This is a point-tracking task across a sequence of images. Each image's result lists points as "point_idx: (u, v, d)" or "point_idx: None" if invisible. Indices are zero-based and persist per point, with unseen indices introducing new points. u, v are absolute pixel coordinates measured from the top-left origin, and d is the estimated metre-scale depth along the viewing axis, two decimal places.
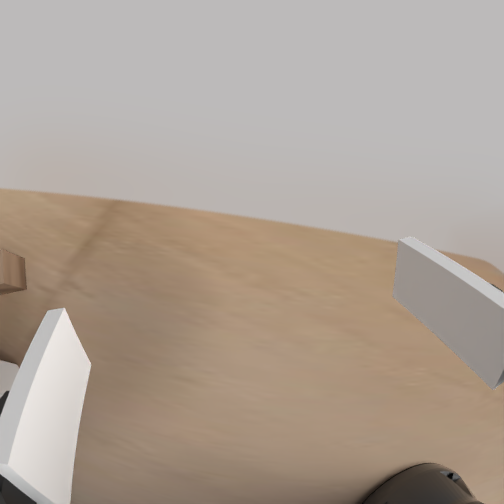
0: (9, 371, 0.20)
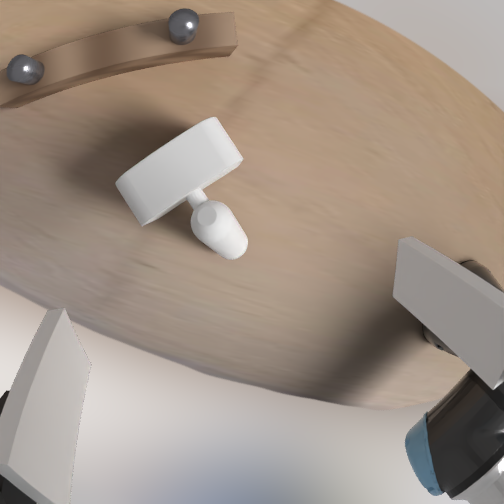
0: None
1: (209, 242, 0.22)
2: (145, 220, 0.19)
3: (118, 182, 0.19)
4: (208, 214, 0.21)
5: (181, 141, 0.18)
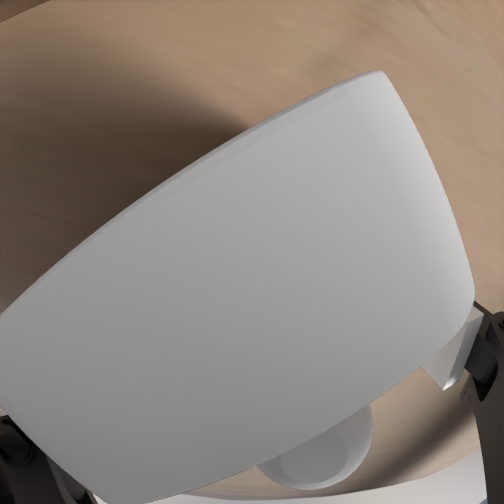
0: None
1: None
2: None
3: None
4: (320, 453, 0.05)
5: (231, 194, 0.03)
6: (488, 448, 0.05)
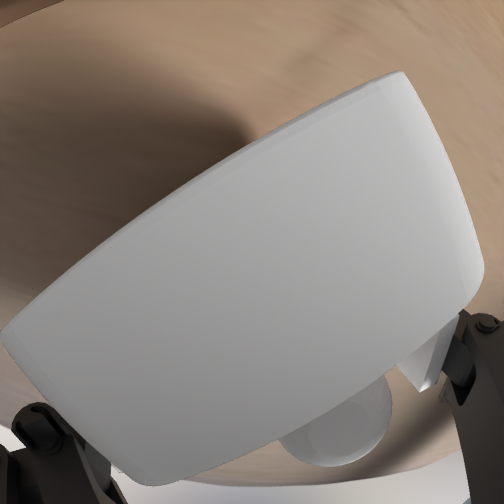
0: None
1: None
2: (136, 481, 0.04)
3: None
4: (346, 425, 0.05)
5: (288, 168, 0.03)
6: (469, 453, 0.05)
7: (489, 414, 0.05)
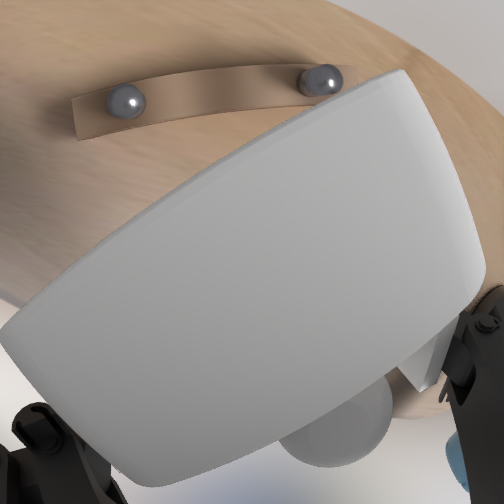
0: None
1: None
2: (135, 482, 0.04)
3: None
4: (347, 426, 0.05)
5: (290, 165, 0.03)
6: (469, 453, 0.05)
7: (489, 414, 0.05)
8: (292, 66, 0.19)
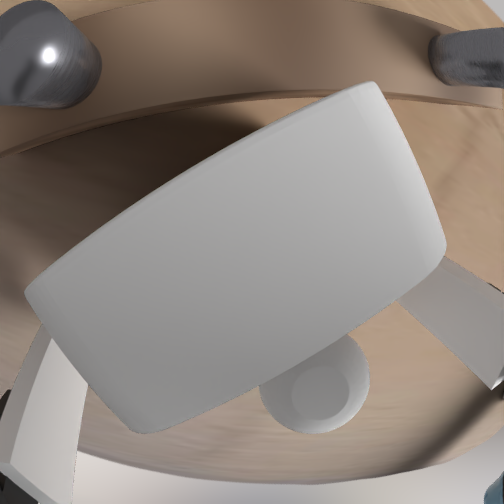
0: None
1: None
2: (135, 429, 0.05)
3: (28, 301, 0.04)
4: (326, 389, 0.06)
5: (275, 155, 0.04)
6: None
7: None
8: (420, 21, 0.07)
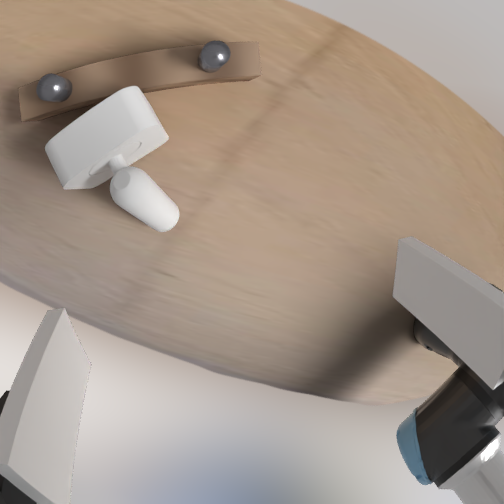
0: (153, 111, 0.23)
1: (125, 207, 0.21)
2: (65, 182, 0.18)
3: (46, 148, 0.17)
4: (123, 178, 0.20)
5: (100, 108, 0.17)
6: None
7: None
8: (194, 47, 0.20)
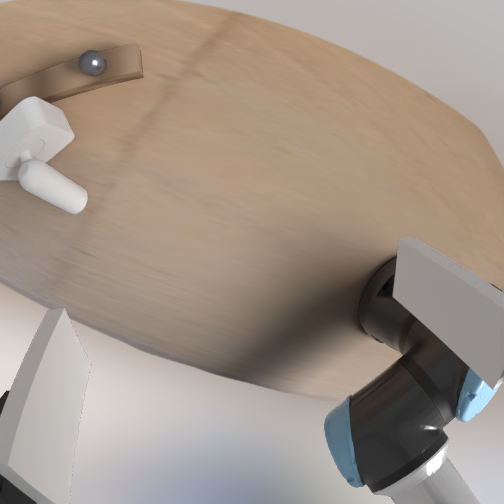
0: (59, 113, 0.24)
1: (28, 190, 0.22)
2: None
3: None
4: (24, 168, 0.21)
5: (8, 116, 0.19)
6: None
7: None
8: None
